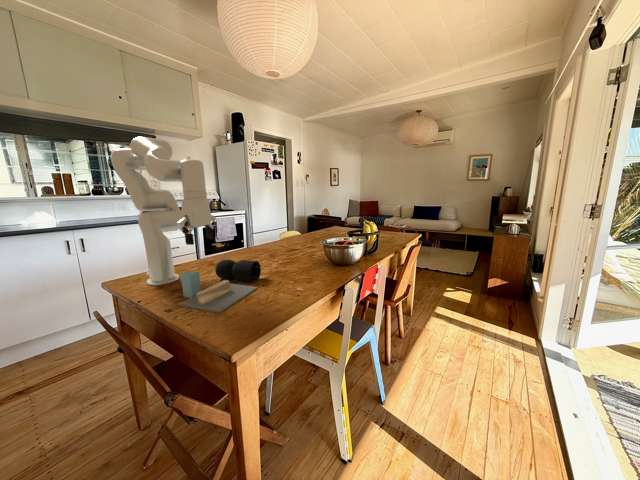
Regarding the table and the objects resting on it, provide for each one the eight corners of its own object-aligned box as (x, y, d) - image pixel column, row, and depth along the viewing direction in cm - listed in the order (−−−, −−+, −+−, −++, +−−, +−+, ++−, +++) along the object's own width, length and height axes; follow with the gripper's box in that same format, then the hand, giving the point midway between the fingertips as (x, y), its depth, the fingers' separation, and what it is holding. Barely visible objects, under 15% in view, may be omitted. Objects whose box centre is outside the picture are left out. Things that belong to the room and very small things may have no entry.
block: (183, 296, 98) (180, 274, 96) (193, 291, 102) (190, 270, 100) (192, 297, 96) (189, 275, 94) (201, 293, 100) (199, 271, 98)
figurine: (263, 263, 117) (226, 261, 122) (254, 258, 109) (214, 256, 114) (260, 283, 115) (222, 280, 120) (250, 280, 106) (209, 277, 111)
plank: (197, 304, 89) (196, 293, 88) (225, 289, 102) (224, 280, 101) (203, 305, 88) (201, 294, 87) (230, 290, 101) (229, 280, 100)
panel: (178, 305, 90) (178, 304, 90) (222, 283, 110) (222, 282, 110) (219, 313, 83) (219, 311, 83) (257, 288, 104) (257, 287, 103)
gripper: (204, 194, 101) (209, 237, 104) (166, 196, 85) (172, 246, 88) (220, 194, 98) (224, 237, 102) (183, 196, 82) (189, 247, 86)
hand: (200, 241), depth 95 cm, fingers open, 9 cm apart
